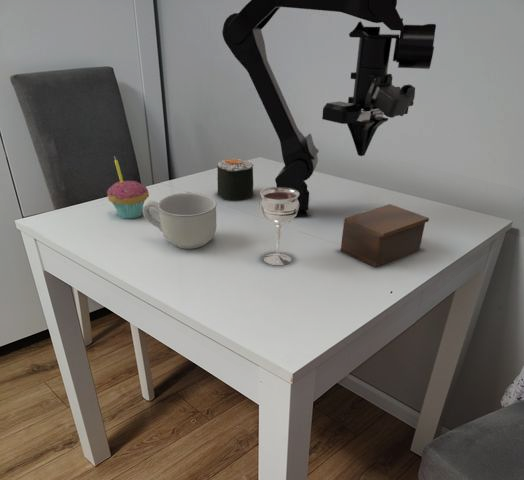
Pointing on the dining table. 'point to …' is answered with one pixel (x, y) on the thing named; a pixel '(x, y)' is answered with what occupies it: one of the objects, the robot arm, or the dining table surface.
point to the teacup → (185, 218)
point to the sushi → (235, 179)
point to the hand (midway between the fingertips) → (361, 155)
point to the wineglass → (279, 215)
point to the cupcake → (127, 196)
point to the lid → (386, 220)
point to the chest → (380, 244)
